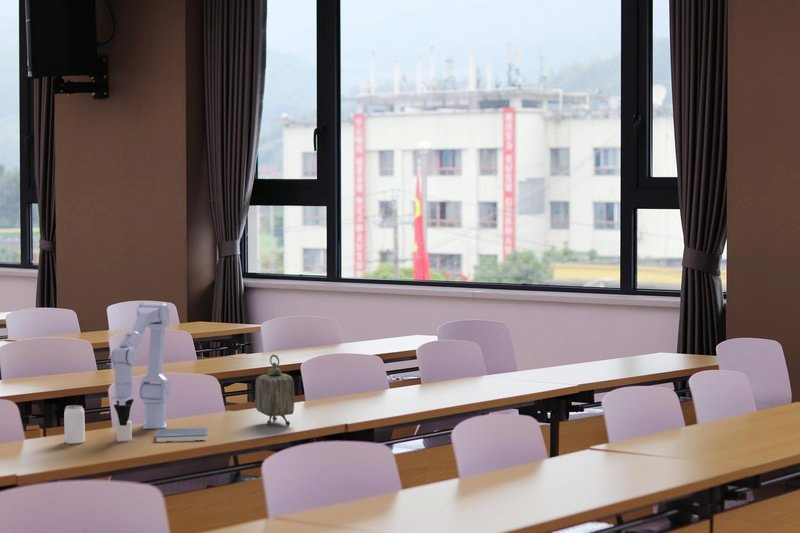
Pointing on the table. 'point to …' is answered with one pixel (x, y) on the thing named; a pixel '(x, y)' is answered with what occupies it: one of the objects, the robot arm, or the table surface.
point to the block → (124, 432)
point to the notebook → (181, 434)
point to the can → (74, 424)
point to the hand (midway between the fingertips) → (124, 423)
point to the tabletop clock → (275, 393)
